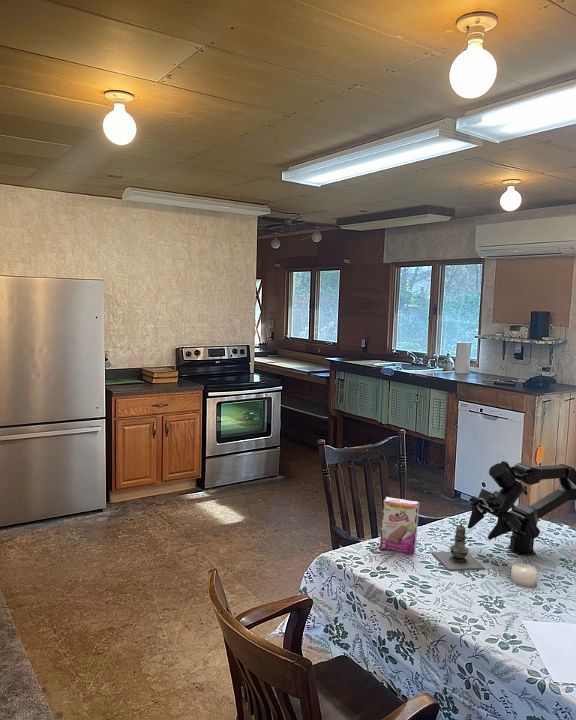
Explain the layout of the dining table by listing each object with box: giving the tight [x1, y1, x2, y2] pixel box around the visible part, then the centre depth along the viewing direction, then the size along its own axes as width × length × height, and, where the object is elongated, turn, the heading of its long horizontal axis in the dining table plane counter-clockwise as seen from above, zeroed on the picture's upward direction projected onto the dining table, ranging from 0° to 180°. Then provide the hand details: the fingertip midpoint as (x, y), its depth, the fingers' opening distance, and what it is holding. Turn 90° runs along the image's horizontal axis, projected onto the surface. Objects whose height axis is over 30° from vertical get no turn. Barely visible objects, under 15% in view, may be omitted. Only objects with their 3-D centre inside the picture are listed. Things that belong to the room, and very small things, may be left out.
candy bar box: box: [379, 496, 420, 556], centre depth 190 cm, size 11×5×16 cm, turn 71°
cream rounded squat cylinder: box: [510, 562, 538, 588], centre depth 173 cm, size 7×7×4 cm
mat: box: [431, 551, 486, 572], centre depth 184 cm, size 12×12×1 cm
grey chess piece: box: [449, 522, 470, 563], centre depth 184 cm, size 6×6×12 cm
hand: (478, 533), depth 186 cm, fingers open, 9 cm apart
